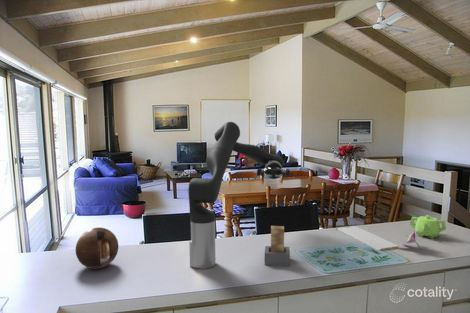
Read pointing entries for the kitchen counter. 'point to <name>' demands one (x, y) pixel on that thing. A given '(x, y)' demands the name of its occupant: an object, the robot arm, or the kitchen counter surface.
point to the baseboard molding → (368, 238)
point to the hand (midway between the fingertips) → (273, 174)
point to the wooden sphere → (96, 248)
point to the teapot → (427, 226)
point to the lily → (412, 238)
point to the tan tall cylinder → (277, 239)
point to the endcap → (277, 257)
